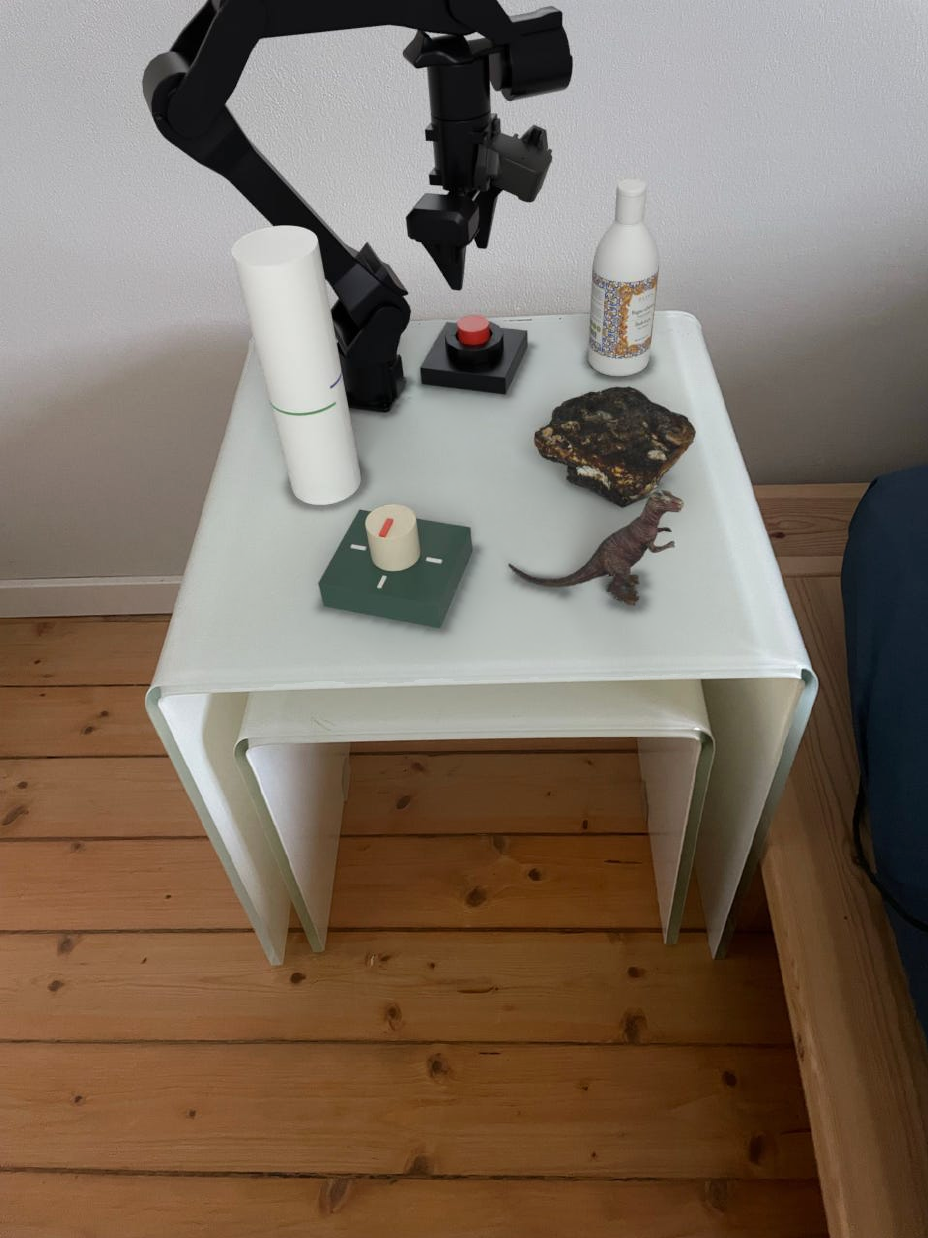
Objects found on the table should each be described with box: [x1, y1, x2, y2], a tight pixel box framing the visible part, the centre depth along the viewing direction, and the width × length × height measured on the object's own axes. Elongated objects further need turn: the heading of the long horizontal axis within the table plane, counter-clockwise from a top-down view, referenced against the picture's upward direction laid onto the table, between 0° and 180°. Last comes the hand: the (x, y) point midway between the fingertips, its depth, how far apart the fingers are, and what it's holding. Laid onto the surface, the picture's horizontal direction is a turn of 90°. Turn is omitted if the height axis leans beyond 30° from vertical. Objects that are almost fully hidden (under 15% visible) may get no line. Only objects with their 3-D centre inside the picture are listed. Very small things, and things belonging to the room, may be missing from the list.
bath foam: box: [588, 178, 660, 377], centre depth 98 cm, size 7×7×20 cm
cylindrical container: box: [230, 225, 362, 506], centre depth 84 cm, size 7×7×25 cm
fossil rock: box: [533, 386, 697, 509], centre depth 90 cm, size 14×14×6 cm
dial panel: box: [317, 509, 473, 629], centre depth 82 cm, size 11×10×3 cm
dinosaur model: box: [507, 489, 685, 606], centre depth 77 cm, size 4×12×15 cm
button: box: [456, 314, 490, 345], centre depth 103 cm, size 4×4×2 cm
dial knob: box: [365, 503, 420, 571], centre depth 80 cm, size 4×4×4 cm
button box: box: [419, 320, 529, 395], centre depth 105 cm, size 10×10×4 cm
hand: (470, 268), depth 97 cm, fingers open, 9 cm apart
